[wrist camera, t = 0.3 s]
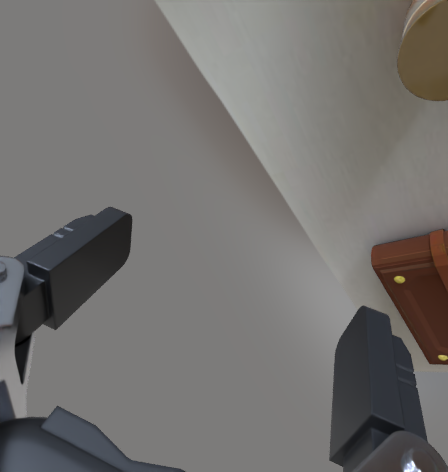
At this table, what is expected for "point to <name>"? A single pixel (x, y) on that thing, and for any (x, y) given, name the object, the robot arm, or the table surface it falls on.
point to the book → (418, 288)
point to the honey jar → (425, 50)
